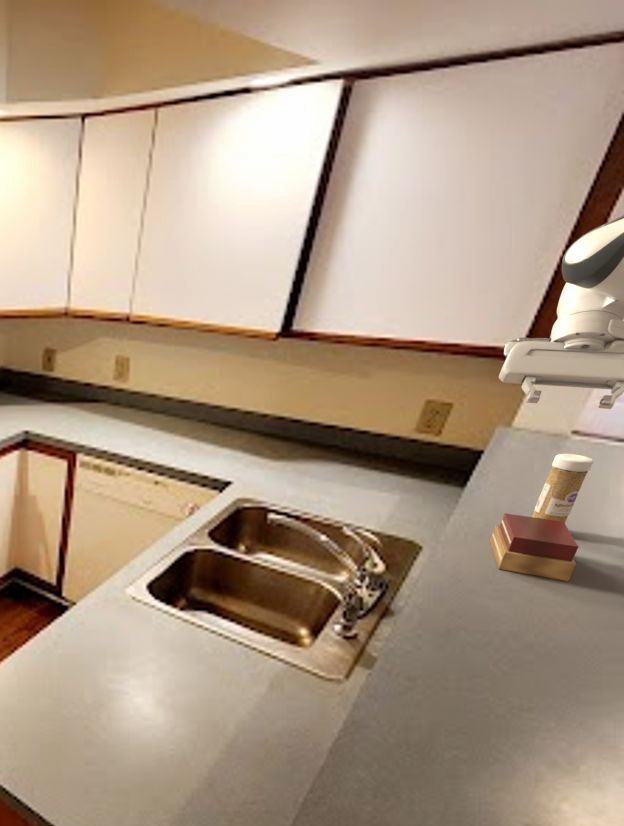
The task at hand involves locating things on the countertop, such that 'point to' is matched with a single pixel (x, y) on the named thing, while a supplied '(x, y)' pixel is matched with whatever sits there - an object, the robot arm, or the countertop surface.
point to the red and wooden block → (534, 547)
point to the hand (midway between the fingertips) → (568, 404)
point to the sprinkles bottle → (562, 487)
